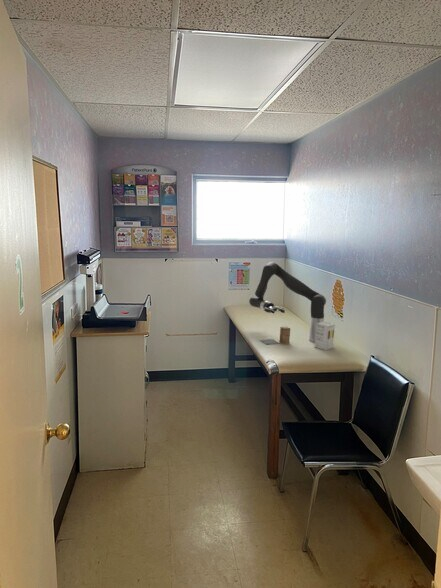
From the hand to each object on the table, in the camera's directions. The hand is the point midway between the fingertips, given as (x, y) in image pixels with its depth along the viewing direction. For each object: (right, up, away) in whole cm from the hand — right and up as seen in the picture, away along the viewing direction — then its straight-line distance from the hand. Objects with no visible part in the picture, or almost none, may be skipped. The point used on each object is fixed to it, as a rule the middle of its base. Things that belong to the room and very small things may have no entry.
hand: (279, 311), depth 311 cm
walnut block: (+3, -21, -5) cm, 22 cm away
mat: (-7, -21, -5) cm, 23 cm away
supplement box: (+29, -24, -12) cm, 40 cm away
